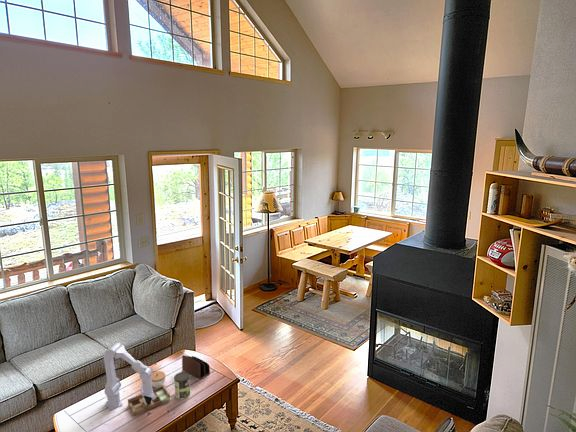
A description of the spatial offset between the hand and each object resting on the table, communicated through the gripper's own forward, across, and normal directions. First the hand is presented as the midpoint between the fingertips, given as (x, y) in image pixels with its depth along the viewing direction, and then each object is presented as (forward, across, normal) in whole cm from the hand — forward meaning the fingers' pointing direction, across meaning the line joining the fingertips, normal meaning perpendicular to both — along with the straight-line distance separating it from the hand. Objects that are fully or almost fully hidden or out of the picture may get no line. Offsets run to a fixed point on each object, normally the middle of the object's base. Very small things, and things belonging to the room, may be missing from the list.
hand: (148, 404), depth 253 cm
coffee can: (+4, +5, +23) cm, 23 cm away
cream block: (+1, -3, +1) cm, 3 cm away
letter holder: (+4, -8, +44) cm, 45 cm away
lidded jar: (+4, -17, +17) cm, 24 cm away
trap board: (+3, -5, +3) cm, 7 cm away
